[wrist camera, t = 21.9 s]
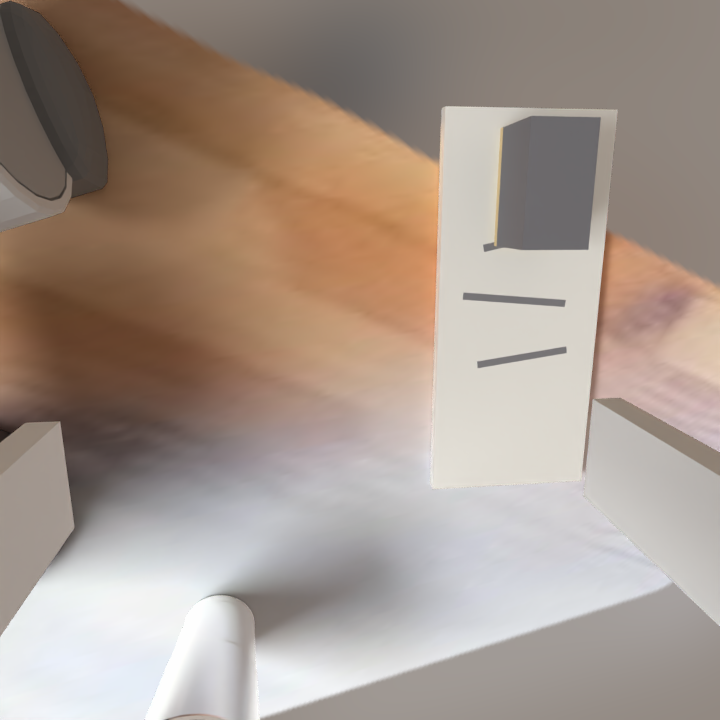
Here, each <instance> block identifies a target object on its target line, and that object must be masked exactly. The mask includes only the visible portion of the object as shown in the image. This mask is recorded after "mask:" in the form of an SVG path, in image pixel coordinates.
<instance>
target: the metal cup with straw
mask: <svg viewBox="0 0 720 720" xmlns="http://www.w3.org/2000/svg"><path fill="white" fill-rule="evenodd" d="M254 628H255V620H254V616H253V613H252V611H251V610H250V608H249V607H248V606H247V605H246V604H245V603H244V602H242V601H241V600H239V599H237V598H235V597H232V596H227V595H215V596H210V597H207V598H204V599H202V600H200V601H199V602H197V603H196V604H195V605H194V606H193V607H192V608H191V609H190V611H189V612H188V614H187V616H186V619H185V623H184V625H183V627H182V630H181V633H180V635H179V638H178V640H177V643H176V645H175V648H174V650H173V653H172V655H171V658H170V660H169V662H168V664H167V665H166V668H165V670H164V673H163V675H162V677H161V680H160V682H159V685H158V687H157V690H156V692H155V695H154V697H153V700H152V702H151V704H150V707H149V709H148V712H147V714H146V717H145V719H144V720H260V713H259V694H258V675H257V669H256V654H255V629H254Z"/></svg>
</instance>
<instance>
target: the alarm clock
mask: <svg viewBox="0 0 720 720" xmlns="http://www.w3.org/2000/svg"><path fill="white" fill-rule="evenodd" d="M107 176H108V157H107V150H106V143H105V137H104V130H103V126H102V123H101V119H100V116H99V113H98V109H97V106H96V103H95V99H94V96H93V94H92V92H91V90H90V88H89V85H88V83H87V81H86V79H85V77H84V75H83V73H82V71H81V69H80V67H79V65H78V63H77V62H76V60H75V58H74V57H73V55H72V54H71V52H70V51H69V49H68V48H67V46H66V45H65V43H64V42H63V40H62V39H61V37H60V36H59V34H58V33H57V32H56V31H55V30H54V29H53V28H52V26H51V25H50V24H49V23H48V22H47V21H46V20H45V19H44V18H43V17H42V15H41V14H39V13H37V12H35V11H33V10H31V9H29V8H27V7H25V6H23V5H21V4H18V3H15V2H12V1H9V2H5V3H2V4H0V232H2V231H6V230H9V229H12V228H16V227H19V226H22V225H25V224H29V223H32V222H35V221H38V220H42V219H45V218H48V217H52V216H54V215H57V214H59V213H62V212H64V211H65V209H66V207H67V205H68V203H69V201H70V198H73V197H76V196H80V195H83V194H86V193H89V192H93V191H96V190H99V189H102V188H103V187H104V186H105V184H106V183H107Z"/></svg>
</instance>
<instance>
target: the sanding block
mask: <svg viewBox="0 0 720 720" xmlns="http://www.w3.org/2000/svg"><path fill="white" fill-rule="evenodd" d="M600 121H601V117H564V116H530V117H527V118H525V119H522V120H520V121H517V122H515V123H513V124H510V125H508V126H505V127H503V128H501V129H500V147H499V165H498V183H497V201H496V219H495V237H494V246H498V247H504V248H511V249H518V250H588V248H589V238H590V227H591V217H592V206H593V195H594V185H595V174H596V164H597V153H598V143H599V132H600Z"/></svg>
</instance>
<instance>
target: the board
mask: <svg viewBox="0 0 720 720" xmlns="http://www.w3.org/2000/svg"><path fill="white" fill-rule="evenodd" d="M617 114H618V110H610V109H559V108H512V107H459V106H445V107H443V108H442V109H441V140H440V171H439V204H438V237H437V270H436V302H435V335H434V368H433V401H432V434H431V466H430V484H431V486H432V488H433V489H448V488H466V487H484V486H501V485H519V484H537V483H555V482H573V481H581V477H582V467H583V457H584V447H585V437H586V427H587V417H588V407H589V397H590V387H591V376H592V366H593V356H594V346H595V336H596V326H597V316H598V306H599V296H600V286H601V276H602V266H603V256H604V246H605V236H606V225H607V215H608V205H609V195H610V185H611V175H612V164H613V155H614V145H615V135H616V125H617ZM530 116H564V117H601V121H600V132H599V143H598V153H597V164H596V174H595V185H594V195H593V206H592V217H591V227H590V238H589V248H588V250H518V249H511V248H504V247H498V246H494V237H495V219H496V201H497V183H498V165H499V147H500V129H501V128H503V127H505V126H508V125H510V124H513V123H515V122H517V121H520V120H522V119H525V118H527V117H530Z"/></svg>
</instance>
